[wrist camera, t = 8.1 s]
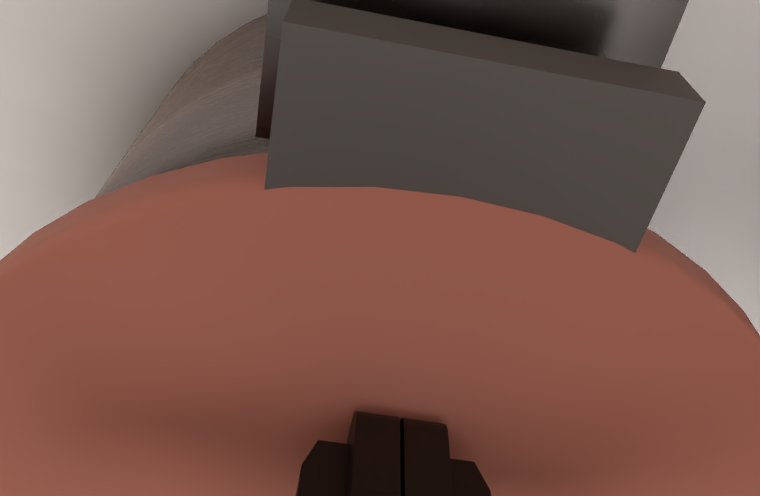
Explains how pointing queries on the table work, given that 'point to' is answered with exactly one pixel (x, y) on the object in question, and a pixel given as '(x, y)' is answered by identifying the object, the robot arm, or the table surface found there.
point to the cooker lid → (390, 287)
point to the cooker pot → (418, 3)
